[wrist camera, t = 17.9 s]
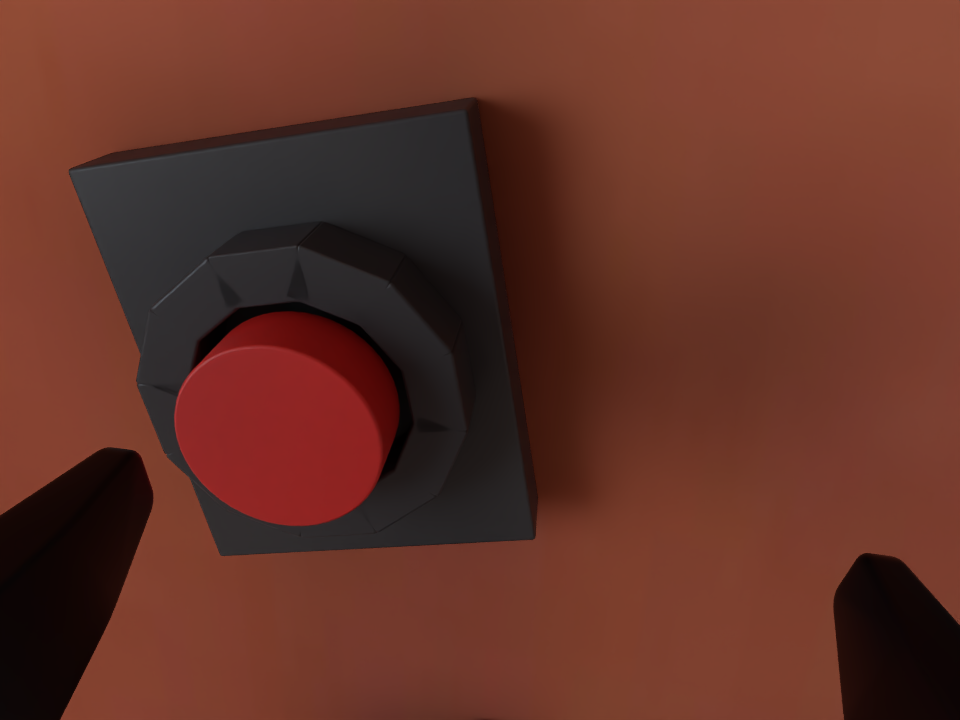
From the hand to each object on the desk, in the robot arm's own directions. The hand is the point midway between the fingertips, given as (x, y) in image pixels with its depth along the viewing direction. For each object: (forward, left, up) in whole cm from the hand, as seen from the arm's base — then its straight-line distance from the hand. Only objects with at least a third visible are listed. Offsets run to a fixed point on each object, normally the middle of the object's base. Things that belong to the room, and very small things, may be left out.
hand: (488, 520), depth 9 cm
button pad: (-5, +1, -10) cm, 11 cm away
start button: (-5, +1, -7) cm, 9 cm away
